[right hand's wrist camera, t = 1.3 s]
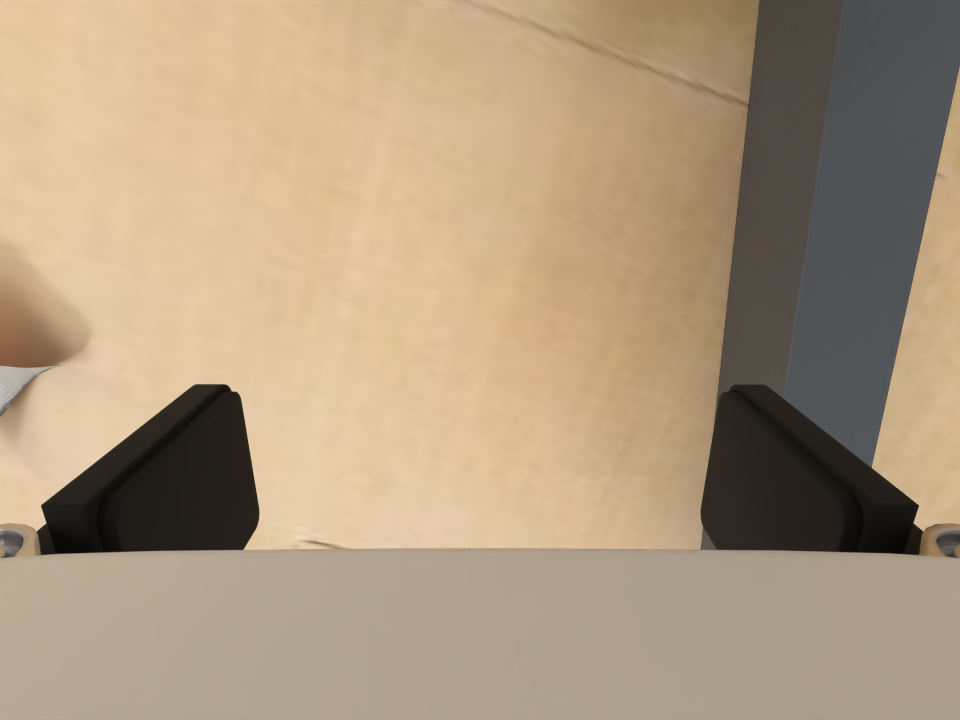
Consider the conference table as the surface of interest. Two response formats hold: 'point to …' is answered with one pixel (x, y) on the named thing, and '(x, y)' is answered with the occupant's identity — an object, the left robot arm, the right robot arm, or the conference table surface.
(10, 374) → the fish
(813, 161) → the beam
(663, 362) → the conference table surface
